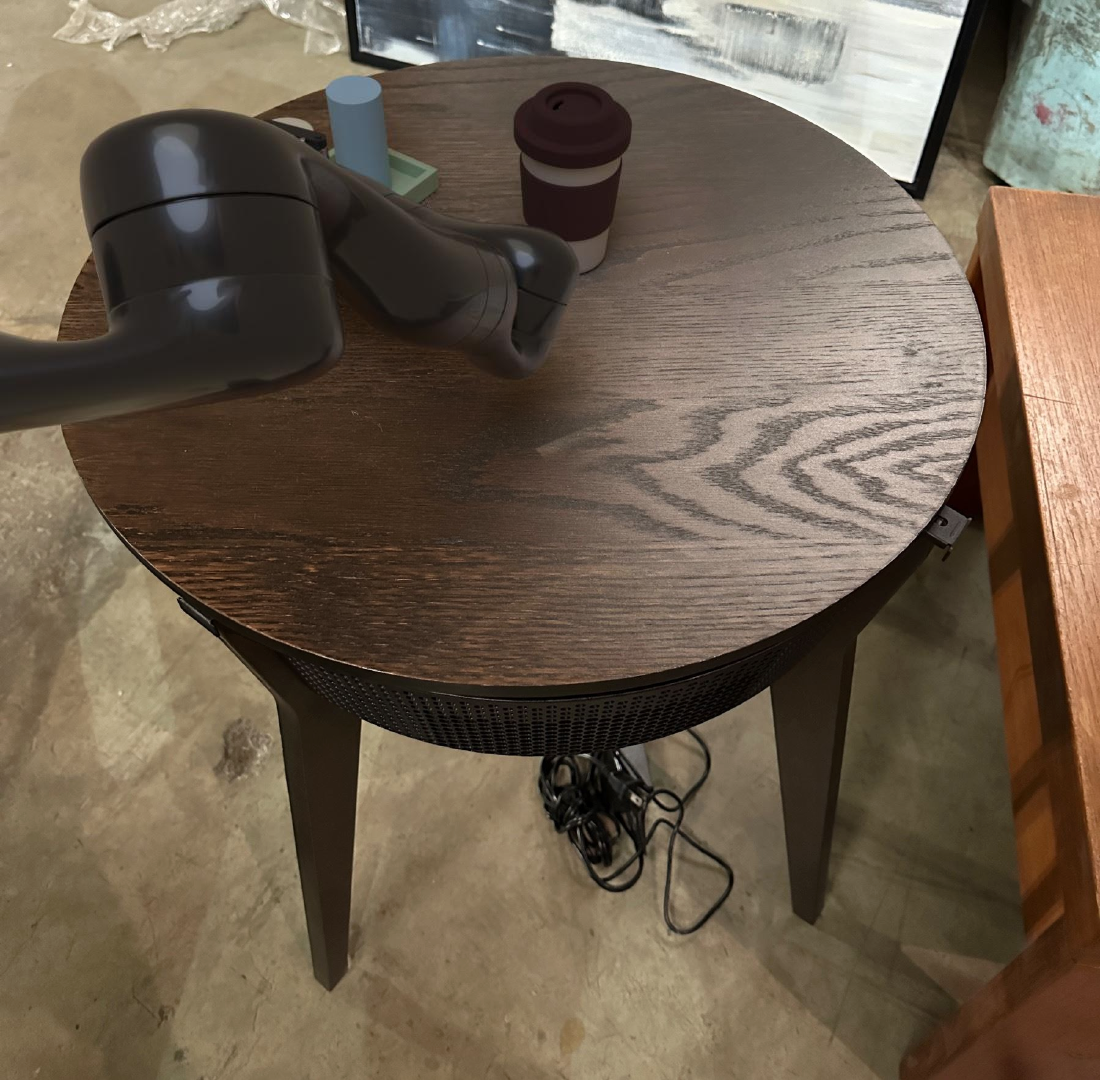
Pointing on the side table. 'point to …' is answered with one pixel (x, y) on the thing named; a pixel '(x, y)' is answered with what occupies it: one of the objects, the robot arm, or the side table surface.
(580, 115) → the coffee cup
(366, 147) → the blue cylinder
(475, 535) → the side table surface
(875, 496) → the side table surface
